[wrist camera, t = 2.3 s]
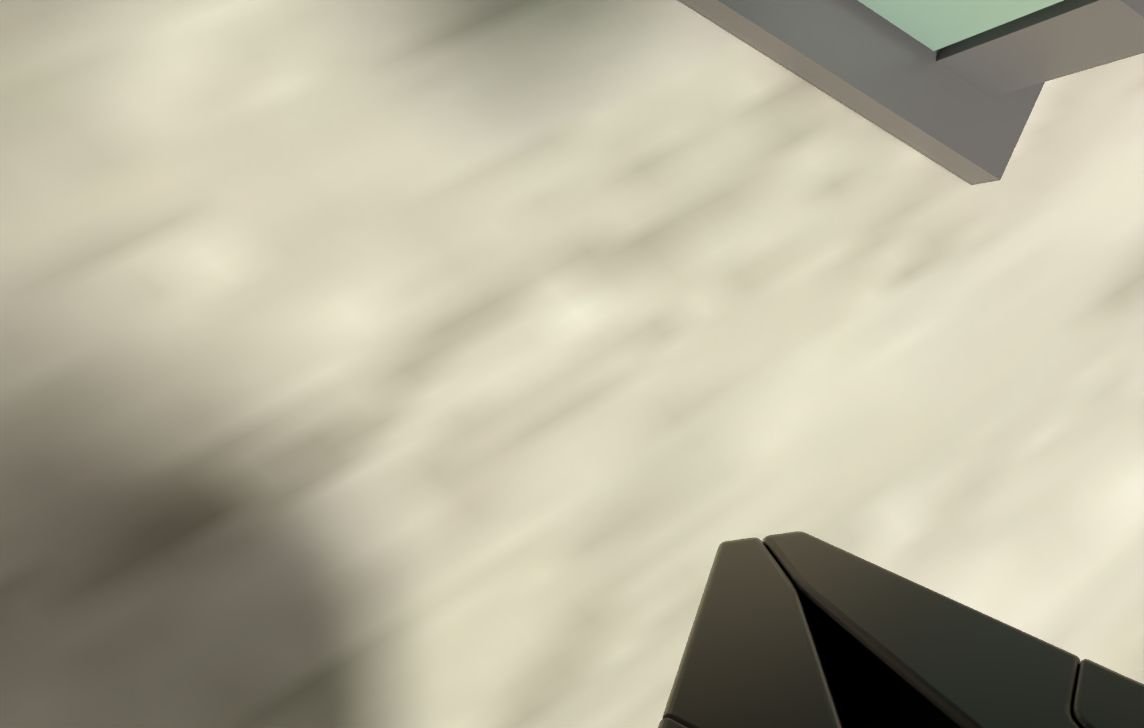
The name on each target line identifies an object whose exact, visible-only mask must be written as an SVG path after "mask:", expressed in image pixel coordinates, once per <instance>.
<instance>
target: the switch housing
mask: <svg viewBox="0 0 1144 728" xmlns="http://www.w3.org/2000/svg"><path fill="white" fill-rule="evenodd" d="M678 1H680V2H682V3H683V4H685V5H686V6H688V7H690V8H691V9H693V10H694V11H696V12H698V13H699V14H701V15H702V16H704V17H705V18H707V19H709V20H710V21H712V22H713V23H715V24H717V25H718V26H720V27H721V28H723V29H725V30H726V31H728V32H729V33H731V34H732V35H734V36H736V37H737V38H739V39H740V40H742V41H744V42H745V43H747V44H748V45H750V46H752V47H753V48H755V49H756V50H758V51H759V52H761V53H763V54H764V55H766V56H767V57H769V58H771V59H772V60H774V61H775V62H777V63H779V64H780V65H782V66H783V67H785V68H786V69H788V70H790V71H791V72H793V73H794V74H796V75H798V76H799V77H801V78H802V79H804V80H806V81H807V82H809V83H810V84H812V85H813V86H815V87H817V88H818V89H820V90H821V91H823V92H825V93H826V94H828V95H829V96H831V97H833V98H834V99H836V100H837V101H839V102H840V103H842V104H844V105H845V106H847V107H848V108H850V109H852V110H853V111H855V112H856V113H858V114H860V115H861V116H863V117H864V118H866V119H867V120H869V121H871V122H872V123H874V124H875V125H877V126H879V127H880V128H882V129H883V130H885V131H887V132H888V133H890V134H891V135H893V136H894V137H896V138H898V139H899V140H901V141H902V142H904V143H906V144H907V145H909V146H910V147H912V148H914V149H915V150H917V151H918V152H920V153H921V154H923V155H925V156H926V157H928V158H929V159H931V160H933V161H934V162H936V163H937V164H939V165H941V166H942V167H944V168H945V169H947V170H948V171H950V172H952V173H953V174H955V175H956V176H958V177H960V178H961V179H963V180H964V181H966V182H968V183H969V184H971V185H975V184H980V183H986V182H992V181H998V180H1000V179H1001V177H1002V175H1003V173H1004V170H1005V168H1006V166H1007V164H1008V162H1009V159H1010V157H1011V155H1012V153H1013V151H1014V148H1015V146H1016V144H1017V142H1018V140H1019V137H1020V135H1021V133H1022V131H1023V129H1024V126H1025V124H1026V122H1027V120H1028V118H1029V115H1030V113H1031V111H1032V109H1033V107H1034V104H1035V102H1036V100H1037V98H1038V96H1039V93H1040V91H1041V89H1042V87H1043V85H1044V82H1046V81H1049V80H1052V79H1056V78H1059V77H1063V76H1066V75H1069V74H1073V73H1076V72H1080V71H1083V70H1087V69H1090V68H1093V67H1097V66H1100V65H1104V64H1107V63H1111V62H1114V61H1117V60H1121V59H1124V58H1128V57H1131V56H1134V55H1138V54H1141V53H1144V0H1063V1H1061V2H1058V3H1056V4H1053V5H1051V6H1048V7H1045V8H1043V9H1040V10H1038V11H1035V12H1033V13H1030V14H1028V15H1025V16H1022V17H1020V18H1017V19H1015V20H1012V21H1010V22H1007V23H1005V24H1002V25H1000V26H997V27H994V28H992V29H989V30H987V31H984V32H982V33H979V34H977V35H974V36H971V37H969V38H966V39H964V40H961V41H959V42H956V43H954V44H951V45H948V46H946V47H943V48H941V49H938V50H936V51H933V50H931V49H930V48H928V47H927V46H925V45H924V44H922V43H921V42H919V41H918V40H916V39H915V38H913V37H912V36H910V35H909V34H907V33H906V32H904V31H903V30H901V29H900V28H898V27H897V26H895V25H894V24H892V23H891V22H889V21H888V20H886V19H885V18H883V17H882V16H880V15H879V14H877V13H876V12H874V11H873V10H871V9H870V8H868V7H867V6H865V5H864V4H862V3H861V2H859V1H858V0H678Z"/></svg>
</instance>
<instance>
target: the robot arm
mask: <svg viewBox="0 0 1144 728" xmlns="http://www.w3.org/2000/svg"><path fill="white" fill-rule="evenodd" d="M658 728H1144V684H1142V683H1139V682H1137V681H1135V680H1132V679H1130V678H1128V677H1125V676H1123V675H1121V674H1119V673H1117V672H1115V671H1112V670H1110V669H1108V668H1106V667H1104V666H1101V665H1099V664H1097V663H1095V662H1093V661H1090V660H1087V659H1084V660H1082V661H1081V663H1080V659H1079V658H1078V657H1077V656H1076V655H1074V654H1071V653H1069V652H1067V651H1065V650H1063V649H1060V648H1058V647H1056V646H1054V645H1051V644H1049V643H1047V642H1045V641H1043V640H1040V639H1038V638H1036V637H1034V636H1032V635H1029V634H1027V633H1025V632H1023V631H1021V630H1018V629H1016V628H1014V627H1012V626H1010V625H1007V624H1005V623H1003V622H1001V621H999V620H996V619H994V618H992V617H990V616H988V615H985V614H983V613H981V612H979V611H977V610H974V609H972V608H970V607H968V606H965V605H963V604H961V603H959V602H957V601H954V600H952V599H950V598H948V597H946V596H943V595H941V594H939V593H937V592H935V591H932V590H930V589H928V588H926V587H924V586H921V585H919V584H917V583H915V582H913V581H910V580H908V579H906V578H904V577H902V576H899V575H897V574H895V573H893V572H890V571H888V570H886V569H884V568H882V567H879V566H877V565H875V564H873V563H871V562H868V561H866V560H864V559H862V558H860V557H857V556H855V555H853V554H851V553H849V552H846V551H844V550H842V549H840V548H838V547H835V546H833V545H831V544H829V543H827V542H824V541H822V540H820V539H818V538H815V537H813V536H811V535H809V534H807V533H804V532H798V531H797V532H790V533H783V534H776V535H769V536H767V537H765V538H764V539H763V541H761V540H760V539H758V538H748V539H740V540H733V541H725V542H723V543H721V544H720V546H719V548H718V550H717V553H716V556H715V559H714V562H713V565H712V568H711V572H710V575H709V578H708V581H707V584H706V587H705V590H704V593H703V596H702V599H701V602H700V605H699V608H698V611H697V614H696V617H695V620H694V623H693V626H692V629H691V632H690V635H689V638H688V642H687V645H686V648H685V651H684V654H683V657H682V660H681V663H680V666H679V669H678V672H677V675H676V678H675V681H674V684H673V687H672V690H671V693H670V696H669V699H668V702H667V705H666V708H665V712H664V715H663V718H662V720H661V722H660V724H659V727H658Z"/></svg>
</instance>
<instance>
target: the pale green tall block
mask: <svg viewBox="0 0 1144 728" xmlns="http://www.w3.org/2000/svg"><path fill="white" fill-rule="evenodd" d="M858 1H859V2H861V3H862V4H864V5H865V6H867V7H868V8H870V9H871V10H873V11H874V12H876V13H877V14H879V15H880V16H882V17H883V18H885V19H886V20H888V21H889V22H891V23H892V24H894V25H895V26H897V27H898V28H900V29H901V30H903V31H904V32H906V33H907V34H909V35H910V36H912V37H913V38H915V39H916V40H918V41H919V42H921V43H922V44H924V45H925V46H927V47H928V48H930V49H931V50H933V51H936V50H938V49H941V48H943V47H946V46H948V45H951V44H954V43H956V42H959V41H961V40H964V39H966V38H969V37H971V36H974V35H977V34H979V33H982V32H984V31H987V30H989V29H992V28H994V27H997V26H1000V25H1002V24H1005V23H1007V22H1010V21H1012V20H1015V19H1017V18H1020V17H1022V16H1025V15H1028V14H1030V13H1033V12H1035V11H1038V10H1040V9H1043V8H1045V7H1048V6H1051V5H1053V4H1056V3H1058V2H1061V1H1063V0H858Z"/></svg>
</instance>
